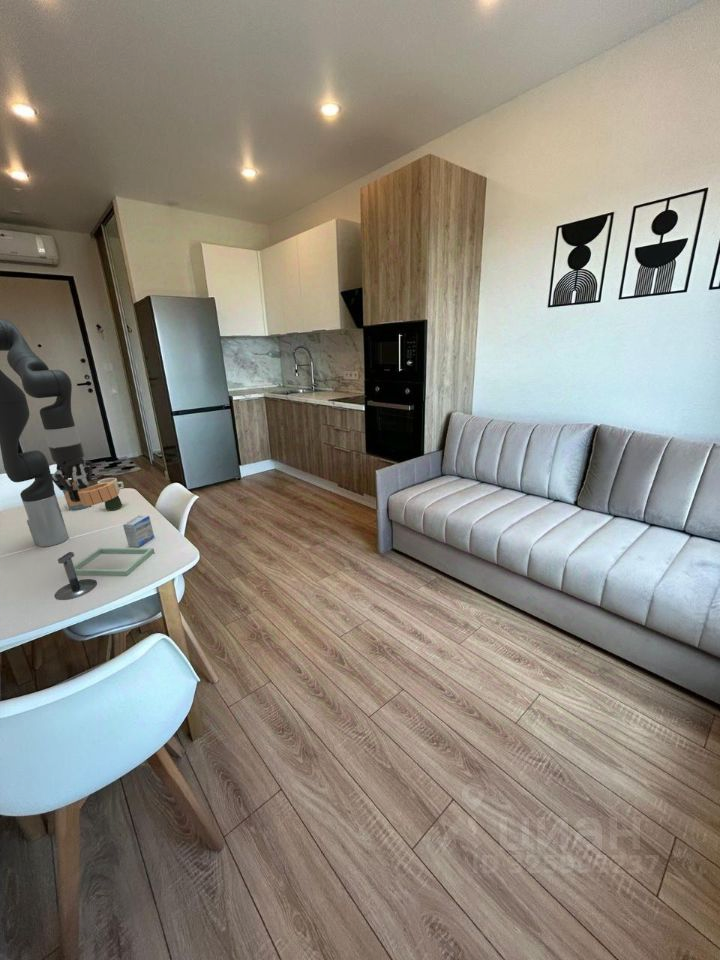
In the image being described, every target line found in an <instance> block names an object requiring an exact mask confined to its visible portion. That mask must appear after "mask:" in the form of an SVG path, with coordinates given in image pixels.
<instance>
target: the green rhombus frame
mask: <svg viewBox="0 0 720 960" xmlns="http://www.w3.org/2000/svg"><path fill="white" fill-rule="evenodd" d="M101 554H121V555H122V554H124V555H125V554H129V555H130V554H133V555H134V554H137V555H138V554H139V555H141V556H139V557H138V558H137V559H136V560H135V561H133V562H132V563H131V564H129V566H127V567H126V568H125V569H117V568H114V569H110V568H109V569H108V568H104V569H103V568H102V569H101V568H83V567H84V566H86V565H87V564H89V563H90V562H92V561H93V560H94V559H96V558H97V557H99V556H100V555H101ZM155 554H156V552H155V549H154V548H153V547H98V548H97V549H95V550H94V551H93V552H91V553H90V554H88V555H87V556H85V557H84V558H83V559H81V560H79V562H76V563H75V564H73V566H74V569H75V572H76V575H77V576H101V577H103V576H104V577H105V576H107V577H109V576H110V577H113V576H114V577H128V576H129V575H131V573H132V572H134V571H135V570H136V569H137V568H138V567H140V565H142V564H143V563H144V562H145V561H146V560H148V559H149V558H150V557H151V556H152V555H155Z"/></svg>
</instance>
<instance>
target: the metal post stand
mask: <svg viewBox="0 0 720 960" xmlns="http://www.w3.org/2000/svg"><path fill="white" fill-rule="evenodd" d="M74 557H75V553H74V552H73V551H69V552H67V553H65V554H64V555H63V556H61V557H59V558H58V559H57V561H58V564H63V567H64V571H65V573H66V576H67V581H68V583H67V584H65V585H63V586H62V587H61V588H59V589H58V590H56V592H55V593H54V599H56V600H58V601H70V600H73V599H78V598H80V597H83V596H84V595H87V594H88V593H90V592H91V591H93V590H94V589H95V588H96V587H97V585H98V582H97V580H95V579H93V578H92V579H91V578H86V579H78V575H76V572H75V569H74V562H73V559H72V558H74Z"/></svg>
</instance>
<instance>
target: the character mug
mask: <svg viewBox="0 0 720 960" xmlns="http://www.w3.org/2000/svg"><path fill="white" fill-rule="evenodd" d="M105 482H114V484H115V487H116V489H117V492H118V494H119V493H120V490H124V489H125V486H124V482H123V481H118V479H117V478H116V477H108V478H103V479H99V480H98V481H97V483H96V484H100V483H105ZM119 485H120V486H119ZM122 506H123V504H122V501H121V499H120V497H119V495H118V496H116V497H115V498H113V499H111V500H108V501H105V502H104V509H105V510H107V511H108V510H110V511H112V510H118V509H120V508H121V507H122Z"/></svg>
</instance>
